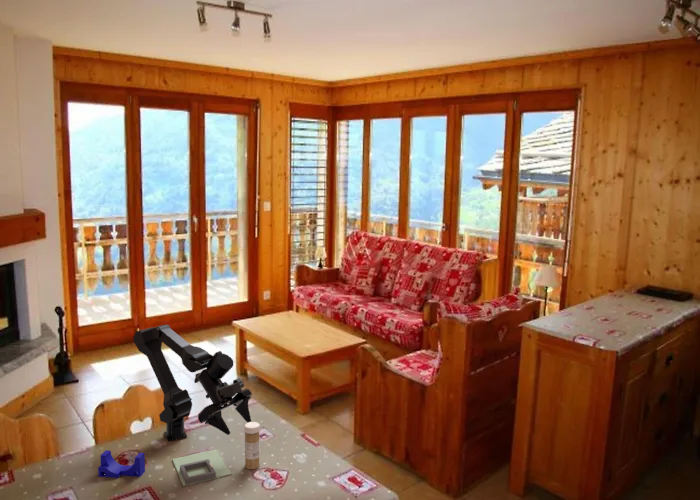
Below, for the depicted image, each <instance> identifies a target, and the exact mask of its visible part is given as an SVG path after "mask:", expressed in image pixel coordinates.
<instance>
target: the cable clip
mask: <svg viewBox="0 0 700 500" xmlns="http://www.w3.org/2000/svg"><path fill="white" fill-rule="evenodd" d="M99 457H100V465H99V466H98V468H97V473H98V474H97V475H98V477H101V478H114V479H119V478H120V477H121V476H125V477H126V476H128V477H138V478H139V477H140V478H141V477H142V476H143V475H144V473H145V472H146V459H145V457H146V456H145V453H144V452H138V453H137V455H136V456H135V457H134V461H133V464H131V465H123V464H120V463H118V462H117V461H116V460H115V459H114V457H113V454H112V451H111V450H110V449H109V450H108V449H107V450H104V451H103V452H102V453H101V454H100V456H99ZM104 474H105V475H104Z"/></svg>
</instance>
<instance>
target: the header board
mask: <svg viewBox="0 0 700 500" xmlns="http://www.w3.org/2000/svg"><path fill="white" fill-rule="evenodd" d="M172 462H173V466H174V468H175V470H176V473H177V475H178V477H179V479H180V481H181V484H182V486H183V487H186V486H191V485H193V484H197V483H202V482H206V481H210V480H215V479H219V478H220V479H221V478H223V477H228V476H231V475H232V472H231V470H230V468H229V467H228V465H227V463H226V461H225V460H224V458H223V456H222V455H221V453H220V452H219V450H218V449H214V450H213V449H212V450H208V451H204V452H203V451H202V452H199V453H194V454H193V453H192V454H189V455H184V456H180V457H176V458H172Z"/></svg>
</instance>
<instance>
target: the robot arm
mask: <svg viewBox="0 0 700 500" xmlns="http://www.w3.org/2000/svg"><path fill="white" fill-rule="evenodd" d="M132 340H133V343H134V344H135V347H136V348H137V350H138V352H140V353H142V354H143V355H144V356H146V358H147V360H148V362H149V363H150V364H149V365H150V366H151V368H152V371H153V372H154V375H155V377H156V380H157V381H158V383H159V385H160V388H161V390H162V393H163V401H162V402H163V403H162V405H163V408H164V409H163V410H162V411H161V412H160V413H159V415H158V416H159V419H160V422H162V423H165V424H166V425H165V427H166V431H164V432H163V434H164V437H165V439H166V441H167V442H171V441H176V440H180V439H186V438H188V435H187V433H186V431H185V418H186V417H189V416H190V414H191V411H192V407H193V401H192V400H193V399H192V398H191V397H190V394H189V391H188V390H187V389H185V388H184V389H182V388H180V387H179V385H178V383H177V381H176V379H175V377H174V375H173V373H172V371H171V368H170V366H169V363H168V361H167V359H166V358H165V355H164V353H163V351H162V346H163V344H164V345H165V346H167V347H168V348H169V349H170V350H171V351H172V352H174V353H175V354H176V355H177V356H178V357H180V360H181V364H182V365H183V366H184V367H185V368H186V370H187V371H189V373H196V372H198V371H200V372H198V373H196V374H195V378H194V381H193V382H194V383H195V384H196V383H200V384H201V386H202V388H203V390H204V391H205V393H206V395H205V398H206V399H210V401H211V402H212V403H211V404H209V405H206V406H205V407H204V408H203V409H202V410H201V411H200V412H199V413H198V414H197V418H198V421H199V423H200V424H203V423H204V424H205V425H210V426H212V427H214V428H216V429H217V430H219V431H221V432H222V433H224V434H225V435H227V436H229V435H230V434H231V431H230V429H229V427H228V426H227V423H226V422H225V420H224V418H223V416H222V411H223V410H224V409H227V408H229V407H231V406H234V407H235V408H234V409H235V410H236V412H237V413H238V414H239V415H240V417H242V418H243V420H244V421H245V422H246V423H248V422H252V418H251V413H250V409H249V401H250V400H251V396H253V393H252V392H251V390H250V389H248V388H244V387H245V384H244V381H243V380H242V379H241V377H239V378H236V379H233V380H232V383H231V384H228V382H226V381H224V382H223V381H222V378H224V376H226V375H227V374H228V373H229V372H230V371H231V369H232V368H234V367H233V366H234V361H233V358H232V357H231V356H229V355H228V354H225V353H223V351H222V350H219V351H217V352H215V353H214V354H213V355H212V354H211V353H209V352H208V351H207V350H206V349H204V348H202V347H200V346H194V345H192V344H190V343H189V342H188V341H186V339H184V338H183V337H182V336H181V335H179V334H177V333H176V332H175V331H174V330H173V329H172V328H171V326H170V325H169V324H162V325H158V326H155V327H154V326H150V327H148V328H144V329H140V330H137V331H136V332H135V333H134V336H133V339H132ZM201 370H202V371H201ZM243 388H244V389H243Z"/></svg>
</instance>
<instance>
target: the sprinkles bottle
mask: <svg viewBox="0 0 700 500" xmlns="http://www.w3.org/2000/svg"><path fill="white" fill-rule="evenodd" d="M260 426H261V425H260V423H259V422H257V421H251V422H246V423H245V424H244V431H243V432H244V459H245V461H244V463H245V464H244V468H246V469H248V470H255V469H258V468H259V467H260V465H261V464H260V448H261V446H260V443H261V442H260V431H261V429H260V428H261V427H260Z"/></svg>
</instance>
